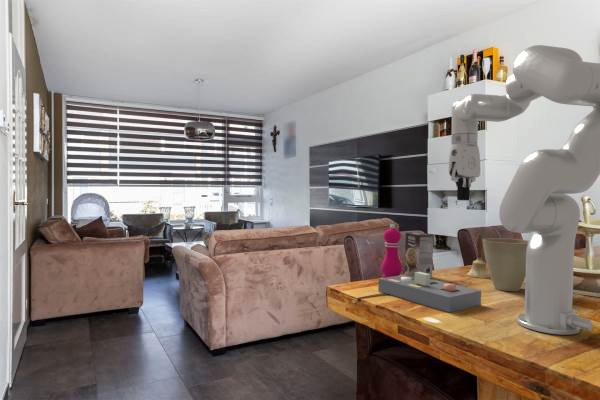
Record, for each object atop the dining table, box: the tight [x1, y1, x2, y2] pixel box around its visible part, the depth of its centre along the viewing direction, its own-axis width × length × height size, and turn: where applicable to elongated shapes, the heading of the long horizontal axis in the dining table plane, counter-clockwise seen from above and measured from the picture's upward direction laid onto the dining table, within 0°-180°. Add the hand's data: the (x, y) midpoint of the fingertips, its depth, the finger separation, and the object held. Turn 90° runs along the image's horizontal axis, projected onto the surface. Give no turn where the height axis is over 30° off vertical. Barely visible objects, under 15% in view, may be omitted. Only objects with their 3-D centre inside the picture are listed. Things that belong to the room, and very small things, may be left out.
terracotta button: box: [444, 282, 457, 292], centre depth 112 cm, size 3×3×2 cm
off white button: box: [401, 277, 412, 281], centre depth 126 cm, size 3×3×2 cm
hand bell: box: [466, 233, 491, 279], centre depth 152 cm, size 8×8×16 cm
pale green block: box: [415, 272, 430, 286], centre depth 118 cm, size 4×2×6 cm, turn 33°
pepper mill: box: [380, 223, 403, 278], centre depth 142 cm, size 7×7×20 cm
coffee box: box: [404, 231, 434, 279], centre depth 150 cm, size 9×6×16 cm
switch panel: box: [377, 274, 482, 313], centre depth 119 cm, size 26×14×4 cm, turn 33°
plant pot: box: [482, 237, 529, 292], centre depth 131 cm, size 15×15×16 cm
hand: (463, 200), depth 125 cm, fingers closed
